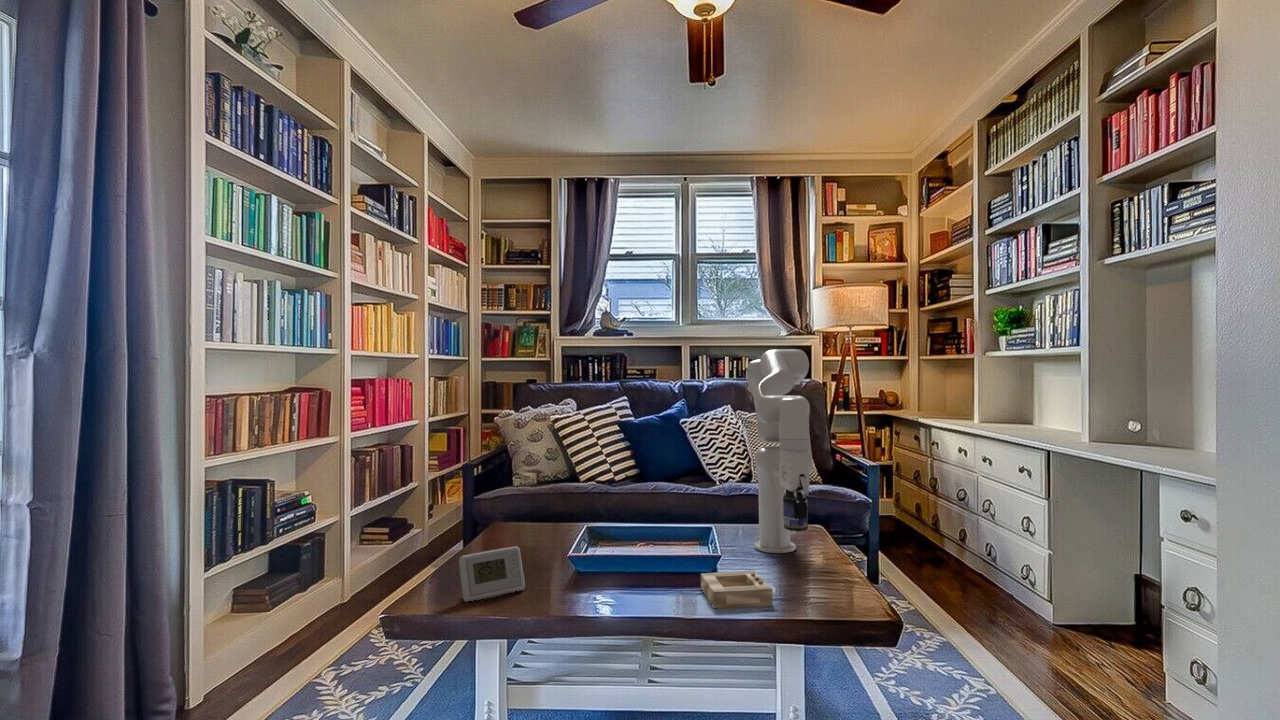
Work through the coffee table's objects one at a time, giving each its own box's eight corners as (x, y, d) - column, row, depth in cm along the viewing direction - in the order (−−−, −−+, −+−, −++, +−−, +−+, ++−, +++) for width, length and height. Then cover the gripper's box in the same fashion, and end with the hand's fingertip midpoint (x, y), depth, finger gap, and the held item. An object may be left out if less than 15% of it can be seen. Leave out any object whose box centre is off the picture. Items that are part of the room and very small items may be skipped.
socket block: (700, 588, 157) (700, 571, 158) (754, 585, 159) (754, 568, 159) (714, 608, 143) (713, 589, 144) (772, 605, 145) (772, 586, 145)
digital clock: (461, 605, 148) (461, 560, 148) (456, 593, 156) (456, 551, 156) (528, 595, 154) (528, 551, 155) (520, 584, 162) (520, 543, 163)
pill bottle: (808, 532, 157) (808, 488, 157) (783, 531, 158) (783, 487, 158) (807, 526, 163) (806, 483, 163) (783, 525, 164) (782, 483, 164)
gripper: (769, 441, 169) (770, 508, 169) (792, 450, 152) (793, 524, 151) (795, 441, 170) (796, 507, 169) (822, 449, 153) (823, 522, 152)
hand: (795, 514), depth 160 cm, fingers closed on pill bottle, 6 cm apart
